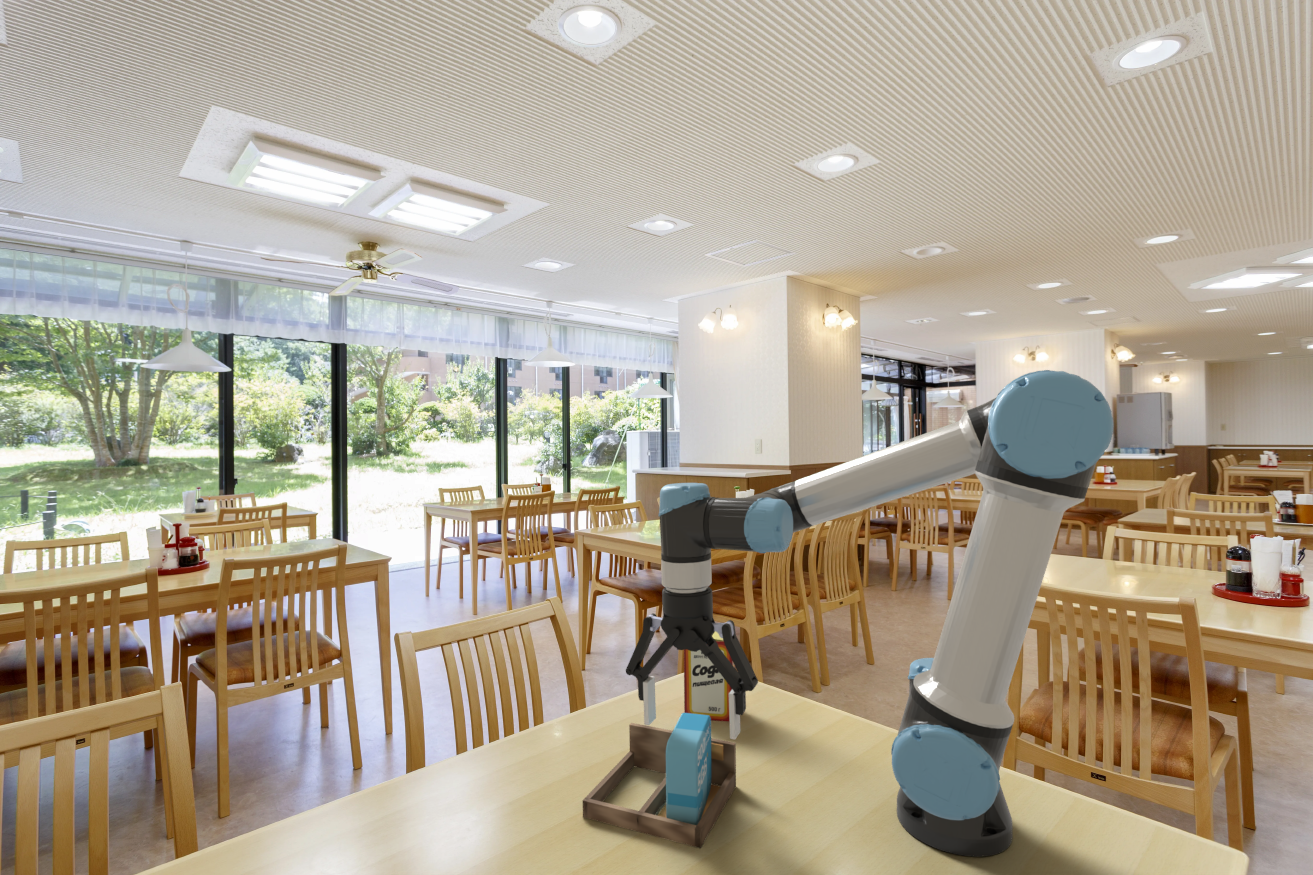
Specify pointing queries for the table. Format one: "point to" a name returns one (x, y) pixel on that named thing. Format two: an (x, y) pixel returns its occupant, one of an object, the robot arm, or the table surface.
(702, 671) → the baking soda box
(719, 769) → the rack
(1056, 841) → the table surface
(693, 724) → the blue rounded block
